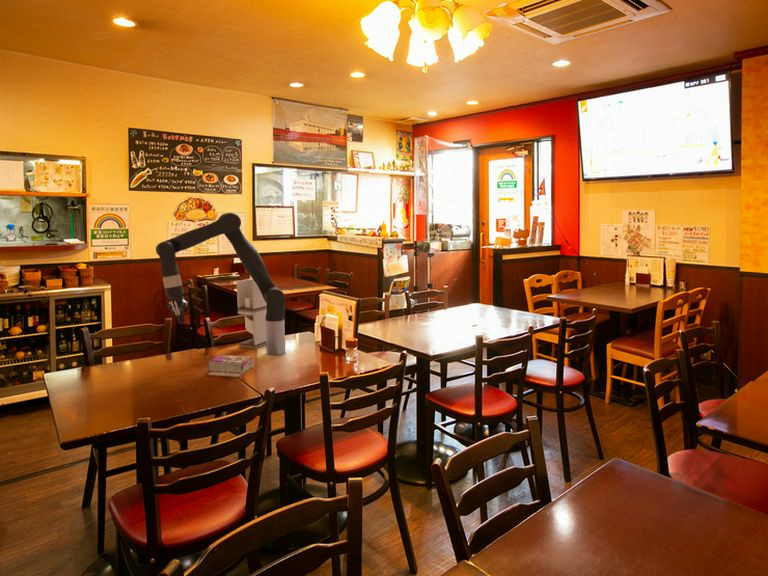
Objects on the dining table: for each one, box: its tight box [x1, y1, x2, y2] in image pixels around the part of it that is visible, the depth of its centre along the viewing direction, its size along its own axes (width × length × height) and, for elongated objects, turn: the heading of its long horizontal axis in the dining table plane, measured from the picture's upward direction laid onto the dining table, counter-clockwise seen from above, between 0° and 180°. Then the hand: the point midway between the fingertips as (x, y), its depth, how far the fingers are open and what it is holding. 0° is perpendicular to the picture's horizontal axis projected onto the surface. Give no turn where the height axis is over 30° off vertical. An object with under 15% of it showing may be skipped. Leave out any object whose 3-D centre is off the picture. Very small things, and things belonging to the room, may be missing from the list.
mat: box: [208, 364, 255, 378], centre depth 239 cm, size 16×14×1 cm
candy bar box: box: [208, 354, 254, 374], centre depth 239 cm, size 11×5×16 cm
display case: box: [236, 278, 267, 350], centre depth 282 cm, size 11×11×35 cm
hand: (181, 322), depth 242 cm, fingers closed
